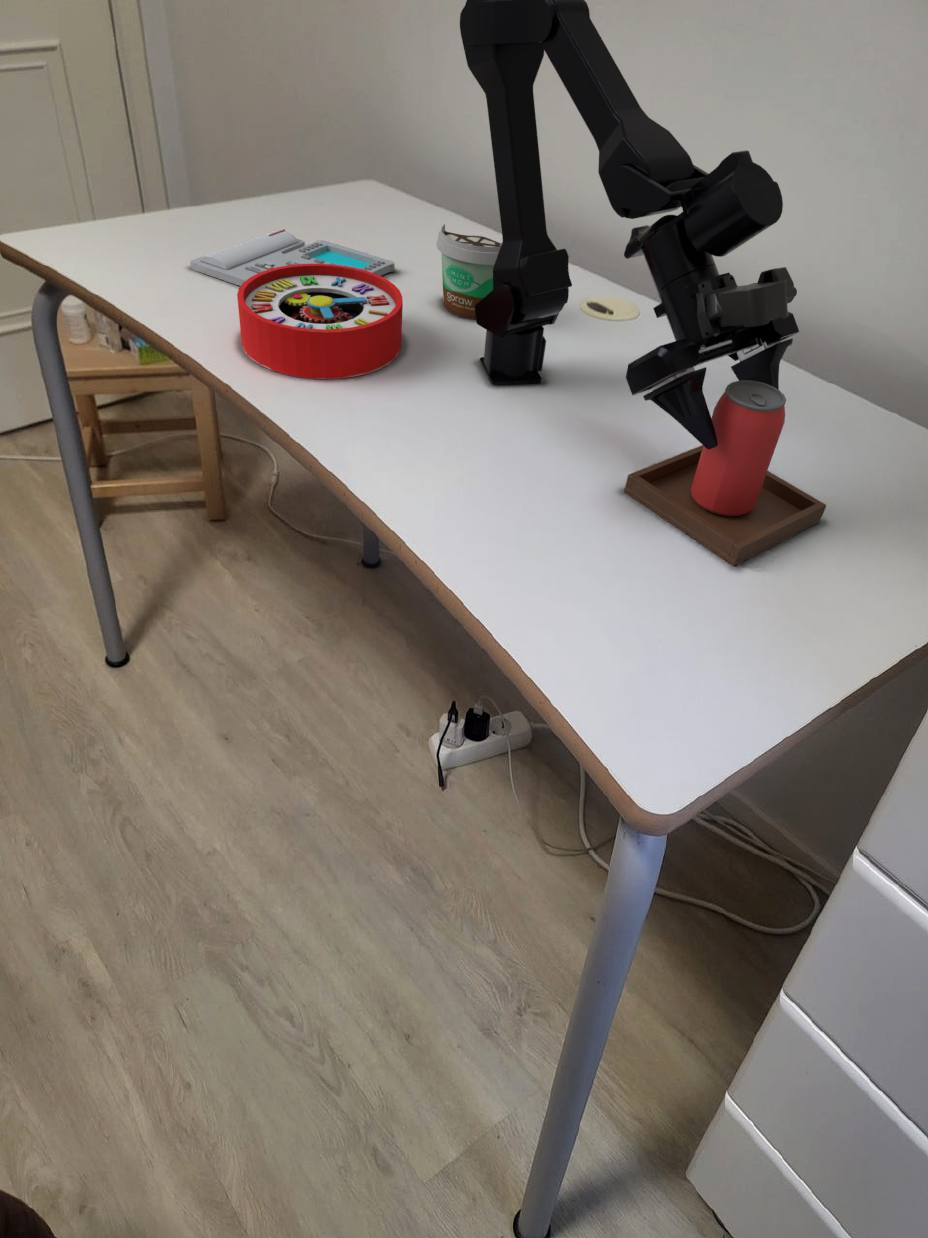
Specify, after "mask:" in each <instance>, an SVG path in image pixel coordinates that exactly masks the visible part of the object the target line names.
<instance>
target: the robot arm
mask: <svg viewBox="0 0 928 1238" xmlns="http://www.w3.org/2000/svg"><path fill="white" fill-rule="evenodd" d="M590 15H591V14H590V8H589V6H588V3H587V1H586V0H466V1H465V4H464V6H463V7H462V9H461V12H460V15H459V29H460V30H459V31H460V37H461V42H462V46H463V51H464V55H465V60H466V65H467V67H468V69H469V71H470V73H471V74H472V75H473V77H474V78H475V80H476V82H477V83H478V85H479V86H480V88H481V90H482V91H483V92H484V95H485V99H486V107H487V116H488V126H489V132H490V133H489V134H490V142H491V149H492V159H493V168H494V175H495V176H494V177H495V185H496V193H497V202H498V209H499V210H498V211H499V218H500V227H501V236H502V242H501V243H502V245H501V248H500V250H499V253H498V256H497V259H496V261H495V264H494V267H493V290H492V291H491V292H490V293H489V294H488V295H486V296H485V297H484V298H483V299H482V300H481V301H479V302H478V303H477V304H476V305H475V314H476V320H475V322H476V324H477V325H478V326H479V327H481V328H483V329H484V330H485V341H484V343H485V344H484V350H483V351H484V353H483V356H481V357H479V363H480V367H481V368H482V370H483V371H484V374H485V375H486V377H487V380H488V381H489V383H490V384H491V385H511V384H512V385H513V384H515V385H516V384H517V385H518V384H537V383H539V384H540V383H542V382H543V377H542V375H541V373H540V372H542V371H543V367H544V361H545V353H546V345H547V339H546V338H545V336H544V331H545V328H544V327H546V326H548V325H549V326H552V325H554V324H555V323H556V321H557V319H558V317H559V314H560V313H561V312H562V310H563V309H564V307H565V305H566V304H568V303H569V296H570V295H569V293H570V292H569V291H570V288H571V287H572V286H573V283H572V280H571V278H570V271H569V270H570V269H569V260H570V258H569V257H570V256H569V254H568V251H567V249H566V248H560V249H558V248H557V247H556V246H555V244H554V243H553V241H552V239H551V237H550V236H549V234H548V230H547V220H546V211H545V209H546V208H545V200H544V199H545V198H544V188H543V178H542V168H541V158H540V148H539V138H538V136H539V135H538V126H537V115H536V105H535V95H534V94H535V93H534V85H535V82H536V79H537V76H538V74H539V70H540V68H541V66H542V64H543V63H542V62H543V60H544V57H545V54H546V56H547V58H548V60H549V61H550V63H551V65H552V66H553V68H554V71H555V72H556V74H557V75H558V76H557V77H559V80H560V81H561V83H562V85H563V86H564V89H565V90H566V92H567V93H568V95H569V97H570V99H571V101H572V102H573V104H574V106H575V108H576V109H577V111H578V113H579V115H580V117H581V118H582V120H583V122H584V125H586V127H587V129H588V131H589V133H590V134H591V136H592V138H593V140H594V142H595V145H596V147H597V150H598V168H597V169H598V172H597V173H598V177H599V178H600V181H601V184H602V186H603V189H604V192H605V194H606V196H607V199H608V202H609V204H610V207H611V208H612V210H613V211H614V212H615V214H616V215H617V216H619V217H620V218H623V219H624V218H625V219H628V220H629V219H630V220H635V219H641V218H645V217H651V216H655V215H660V214H661V215H662V214H666V213H671V212H674V211H677V210H678V209H680V208H681V210H682V212H681V213H679V214H678V215H676V214H666V215H663V216H661V217H660V218H659V219H657V220H656V221H655V222H653V223H652V224H650V225H648V224H647V225H646V224H645V225H642V226H637V227H633V228H632V229H631V231H630V232H631V233H630V238H629V240H628V242H627V244H626V246H625V248H624V252H623V257H624V258H625V259H626V260H628V259H633V258H637V257H641V256H643V258H644V260H645V262H646V266H647V268H648V271H649V274H650V276H651V279H652V281H653V285H654V287H655V290H656V292H657V295H658V298H659V300H660V303H659V304H657V305H656V306H655V307H653V308H652V309H653V312H654V314H655V317H656V319H658V318H662V317H666V319H667V322H668V325H669V327H670V329H671V332H672V335H673V338H674V341H671V342H668V343H664V344H662V345H659V346H657V347H656V348H654V349H651V351H649V352H647V353H645V354H644V355H642V356H640V357H638V358H637V359H635V360H633V361H631V362H629V363H628V364H627V368H626V372H625V381H626V383H627V385H628V388H629V391H630V393H631V396H636V395H638V394H639V395H640V394H642V393H644V392H648V391H650V392H648V393H646V394H644V395H642V398H643V400H644V401H645V402H647V401H651V402H653V403H654V404H655V405H656V406H658V407H659V408H660V409H661V410H663V411H664V412H666V413H667V414H668V415H669V416H671V417H672V418H673V419H674V420H675V421H676V422H677V423H678V424H680V425H681V426H682V428H684V429H685V430H686V431H687V432H688V433H689V434H690V435H691V436H692V437H693V438H694V439H696V440H697V441H698V442H699V443H700V444H701V445H703V446H705V447H706V448H707V449H712V448H715V447H717V446H718V441H717V437H716V432H715V428H714V425H713V422H712V419H711V418H712V415H711V412H710V410H709V407H708V404H707V401H706V397H705V394H704V391H703V387H704V383H705V378H706V373H707V367H703V368H699V369H695V367H696V366H700V365H702V364H705V363H709V362H712V361H715V360H718V359H720V358H724V357H726V356H728V357H729V358H730V359H732V360H733V361H734V362H737V361H739V362H737V363H735V364H733V365H731V366H730V369H731V370H732V372H733V374H734V375H735V377H736V378H737V381H739V380H751V381H758V382H762V383H766V384H768V385H771V386H773V387H775V388H776V389H778V390H780V389H779V388H780V385H779V384H780V383H779V382H780V379H779V377H780V365H781V361H782V359H783V357H784V355H785V353H786V351H787V349H788V347H791V346H792V344H793V343H794V339H793V338H790V337H792V336H795V335H797V334H798V333H799V332H800V330H799V326H798V323H797V321H796V318H795V316H794V313H792V312H790V311H789V310H788V304H791V303H792V302H793V300H795V297H796V296H797V295H798V290H797V288H796V286H795V284H794V281H793V279H792V277H791V274H790V272H789V271H788V269H787V267H786V266H783V267H777V268H771V269H767V270H762V271H761V272H760V274H759V277H758V280H757V282H752V283H750V284H745V285H738V284H737V282H736V279H735V277H734V275H733V274H731V273H730V272H726V273H721V274H720V272H719V270H718V267H717V265H716V262H715V259H714V257H718V258H721V257H722V258H723V257H726V256H727V255H728V254H730V253H731V252H733V251H734V250H736V249H738V248H739V247H741V246H742V245H744V244H746V243H747V242H748V241H750V240H751V239H753V238H755V237H756V236H758V235H759V234H761V233H762V232H764V231H765V230H767V229H769V228H770V227H771V226H773V225H774V224H776V223H778V221H780V218H781V217H782V214H783V209H784V203H783V201H784V200H783V195H782V192H781V189H780V185H779V183H778V182H777V181H775V180H774V179H773V178H772V176H771V175H770V174H769V172H768V171H767V170H766V169H765V168H763V166H761V165H760V164H758V163H756V162H754V161H753V159H752V155H751V153H750V151H749V150H747V149H745V150H739V151H733V152H730V153H729V154H728V155H727V156H726V157H724V158H723V159H722V160H721V162H719V164H718V166H716V167H715V168H714V169H713V170H711V171H710V172H709V173H708V172H706V171H705V170H703V169H701V168H700V167H698V166H697V165H695V164H694V163H693V161H692V158H691V156H690V154H689V153H688V152H687V150H685V148H684V147H683V146H682V144H681V143H680V142H679V141H678V140H677V138H676V137H675V136H674V134H673V133H671V131H670V130H668V129H667V128H665V127H664V126H662V125H661V124H660V123H658V122H656V121H655V120H653V119H652V118H650V117H649V116H648V115H647V114H646V112H645V111H644V110H643V109H642V107H641V105H640V104H639V102H638V100H637V98H636V97H635V95H634V93H633V91H632V89H631V88H630V86H629V84H628V82H627V80H626V79H625V77H624V75H623V74H622V72H621V70H620V68H619V66H618V65H617V63H616V61H615V60H614V58H613V56H612V54H611V52H610V51H609V49H608V47H607V46H606V44H605V42H604V40H603V39H602V36H601V35H600V33H599V31H598V30H597V28H596V26H595V24H594V23H593V21H592V19H591V16H590ZM713 256H714V257H713ZM789 338H790V339H789Z"/></svg>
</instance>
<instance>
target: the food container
mask: <svg viewBox="0 0 928 1238" xmlns="http://www.w3.org/2000/svg"><path fill="white" fill-rule="evenodd" d="M436 239H437V240H436V244H435V245H436V248H437V250H438V251H439V252H440V253H441V274H442V278H441V279H442V299H443V300H442V301H443V304H442V305H443V307H444V309H445V311H447V312H448V313H450V314H451V315H453V316H456V317H458V318H462V319H466V320H472V321H476V314H475V305H476V304H477V303H478V302H479V301H481V300H482V299H483V298H484V297H485V296H486V295H488V294H489V293H490V292H491V291H492V290H493V267H494V264H495V261H496V259H497V256H498V253H499V250H500V248H501V245H502V242H499V241H497V240H493V239H492V238H488V237H485V236H483V235H468V234H467V235H465V234H459V233H455V232H450V231H447V230H446V224H445V223H444V224H442V226H441V229H440V230H439V232H438V235H437V238H436Z"/></svg>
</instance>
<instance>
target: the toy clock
mask: <svg viewBox="0 0 928 1238" xmlns="http://www.w3.org/2000/svg"><path fill="white" fill-rule="evenodd" d="M236 297H237V306H238V307H237V308H238V318H239V330H240V341H241V345H242V350H243V351H244V352H245V354H246V355H247V356H248V357H249V358H250V359H251V361H253V362H255V363H256V364H258V365H260V366H262V367H264V368H265V369H268V370H270V371H273V372H276V373H279V374H282V375H286V376H291V377H296V378H303V379H312V380H335V379H336V380H337V379H338V380H339V379H347V378H352V377H353V378H354V377H359V376H363V375H367V374H370V373H373V372H376V371H378V370H381V369H382V368H384V367H386V366H388V365H390V364H391V363H392V362H393V361H394V360H396V358H397V357H398V356H399V354H400V353H401V350H402V345H403V344H402V343H403V340H402V339H403V310H404V309H403V307H404V305H403V303H404V301H403V295H402V293H401V290H400V289H399V288H398V287H397V286H396V285H395V284H394V283H393V282H391V281H390V280H389V279H387V278H385V277H383V276H382V275H381V276H379V275H377V274H374V273H372V272H369V271H365V270H362V269H358V268H354V267H348V266H343V265H334V264H318V263H317V264H296V265H288V266H282V267H277V268H273V269H269V270H266V271H263V272H260V273H258V274H256V275H254V276H252V277H250V278H249V279H247V280H246V281H245V282H244V283H243V284H242V285H241V286H239V288H238V291H237V294H236Z"/></svg>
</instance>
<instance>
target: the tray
mask: <svg viewBox="0 0 928 1238" xmlns="http://www.w3.org/2000/svg"><path fill="white" fill-rule="evenodd" d="M702 449H703V445H702V444H701V445H699V446H696V447H695V448H692V449H689V450H686V451H685V452H684V451H683V452H682V453H679V454H677V455H674V456H672V457H669V458H666V459H664V460H661V461H659V462H656V463H654V464H651V465H648V466H647V467H644V468H641V469H639V470H636V471H633V472H632V473H628V474H627V478H626V482H625V487H624V490H623V492H624V493H625V494H627V495H628V496H630V497H631V498H633V499H634V500H635V501H637V502H639V503H640V504H641V505H643V506H644V507H646V508H647V509H649V510H651V511H652V512H653V513H655V514H656V515H658V516H659V517H660V518H662V519H664V521H667V522H668V523H670V524H671V525H673V526H674V527H676V528H677V529H678V530H679V531H681V532H683V533H684V534H685V535H687V536H689V537H690V538H692V539H693V540H695V541H696V542H697V543H699V544H700V545H702V546H703V547H705V548H706V549H707V550H709V551H711V552H713V553H714V555H717V556H718V557H720V558H721V559H723V561H725V562H727V563H729V564H730V565H731V566H733V567H735V566H737V565H739V564H741V563H743V562H745V561H747V560H749V559H751V558H753V557H754V556H755V557H756V555H758V554H760V553H762V552H764V551H767V550H768V549H770V548H772V547H775V546H776V545H778V544H780V543H782V542H783V541H786V540H788V539H790V538H791V537H794V536H795V535H797V534H800V533H802V532H803V531H806V530H807V529H809V528H811V527H813V526H815V525H817V524H820V523H821V520H822V517H823V516H824V512H825V511H826V508H827V504H826V503H824V502H822V501H820V500H819V499H817V498H815V497H813V496H812V495H811V494H808V493H807V492H805V491H803V490H802V489H800V488H798V487H796V486H795V485H793V484H791V483H790V482H788V481H786V480H784V479H783V478H781V477H779V476H777V475H776V474H774V473H773V472H771V471H769V470H767V473H766V476H765V479H764V482H763V485H762V488H761V490H760V493H759V496H758V499H757V502H756V505H755V507H754V508H753V509H752V510H751V511H750V512H749V513H747V514H744V515H741V516H732V517H728V516H720V515H717V514H714V513H711V512H709V511H707V510H705V509H703V508H702V507H701V506H699V505H698V504H697V503H696V502H695V500H694V499H693V497H692V493H691V487H692V484H693V480H694V477H695V473H696V470H697V466H698V463H699V459H700V456H701V452H702Z"/></svg>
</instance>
